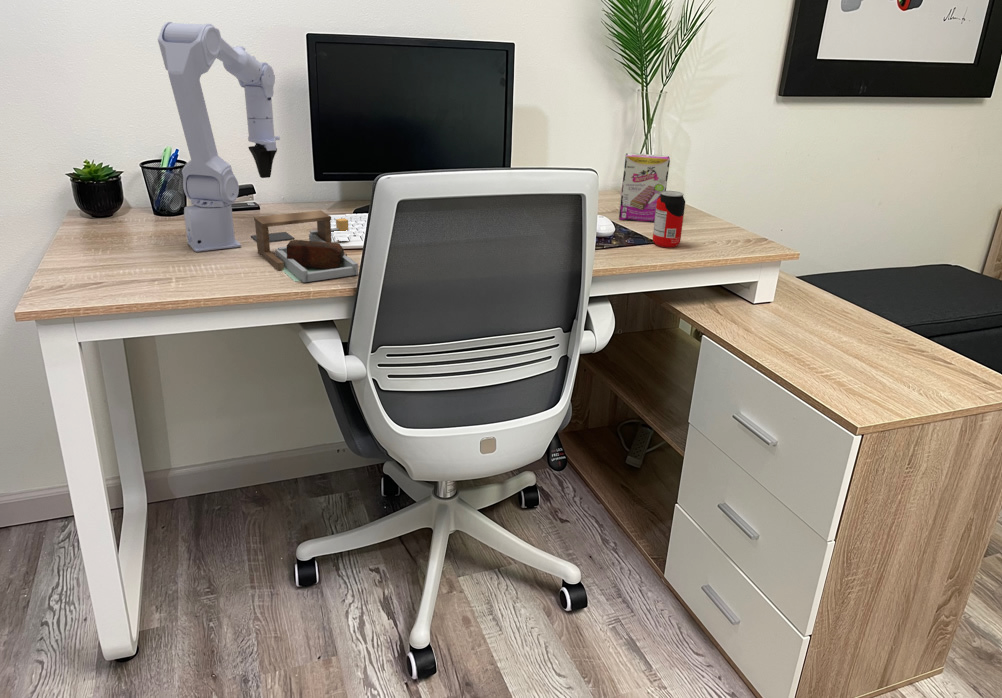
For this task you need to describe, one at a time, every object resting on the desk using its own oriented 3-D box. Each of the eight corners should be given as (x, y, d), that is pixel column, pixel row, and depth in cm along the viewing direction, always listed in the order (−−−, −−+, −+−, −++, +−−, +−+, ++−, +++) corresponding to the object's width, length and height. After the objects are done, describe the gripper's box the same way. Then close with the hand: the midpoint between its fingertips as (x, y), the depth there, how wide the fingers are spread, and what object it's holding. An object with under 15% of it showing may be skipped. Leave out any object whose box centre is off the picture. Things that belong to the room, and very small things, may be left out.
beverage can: (682, 248, 177) (689, 196, 172) (655, 248, 177) (661, 195, 172) (675, 241, 183) (682, 190, 178) (649, 240, 183) (654, 189, 178)
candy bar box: (618, 220, 200) (624, 155, 193) (618, 216, 204) (624, 152, 198) (662, 223, 199) (670, 158, 192) (662, 218, 203) (669, 154, 197)
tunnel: (278, 270, 153) (274, 233, 150) (257, 252, 164) (253, 217, 161) (347, 261, 160) (345, 225, 157) (322, 244, 171) (320, 210, 168)
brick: (287, 267, 153) (285, 244, 151) (291, 261, 157) (290, 239, 155) (341, 270, 153) (341, 247, 152) (344, 264, 157) (344, 241, 155)
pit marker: (258, 243, 170) (258, 242, 170) (250, 236, 174) (250, 235, 174) (294, 239, 174) (294, 238, 174) (285, 232, 178) (285, 231, 178)
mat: (295, 282, 147) (295, 281, 147) (278, 268, 155) (278, 267, 155) (359, 273, 154) (359, 272, 154) (340, 259, 161) (340, 258, 161)
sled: (303, 282, 146) (301, 258, 144) (263, 248, 165) (261, 227, 164) (393, 269, 155) (392, 246, 154) (345, 238, 175) (344, 218, 173)
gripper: (287, 120, 175) (291, 181, 180) (267, 113, 186) (272, 170, 191) (256, 122, 171) (261, 184, 177) (237, 114, 182) (243, 172, 188)
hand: (265, 177), depth 184 cm, fingers closed
